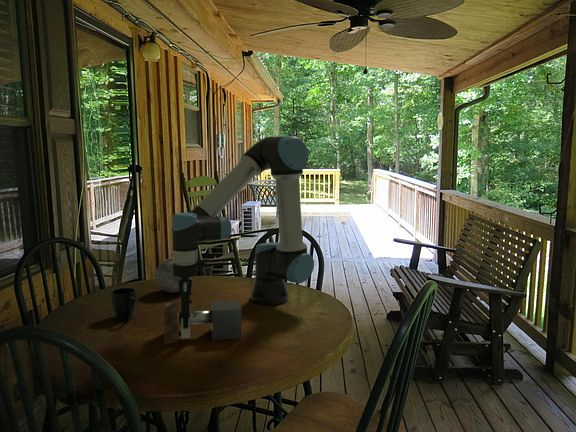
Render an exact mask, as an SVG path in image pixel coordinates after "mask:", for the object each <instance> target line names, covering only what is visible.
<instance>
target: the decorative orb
mask: <svg viewBox="0 0 576 432" xmlns="http://www.w3.org/2000/svg"><path fill="white" fill-rule="evenodd" d="M173 264H174V262H173V257H170V258H167V259H165V260H163V261H162V262H161V263H160V264H159V265H158V267H157V268H156V269H155V273H154V277H155V281H156V284H157V285H158V287H159V288H160V289H162V290H163V291H164V292H165V293H169V294H177V293H180V288H179V280H182V278H181V277H175V276H174V275H173ZM189 280H193V277H189Z"/></svg>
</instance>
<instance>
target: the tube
mask: <svg viewBox="0 0 576 432" xmlns="http://www.w3.org/2000/svg"><path fill="white" fill-rule="evenodd" d="M184 314H188V313H184ZM179 316H181V311H180V312H179V311H178V325H179V326H181V318H179ZM211 323H212V310H211V309H210V310H195V311H190V325H201V324H204V325H205V324H211Z"/></svg>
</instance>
